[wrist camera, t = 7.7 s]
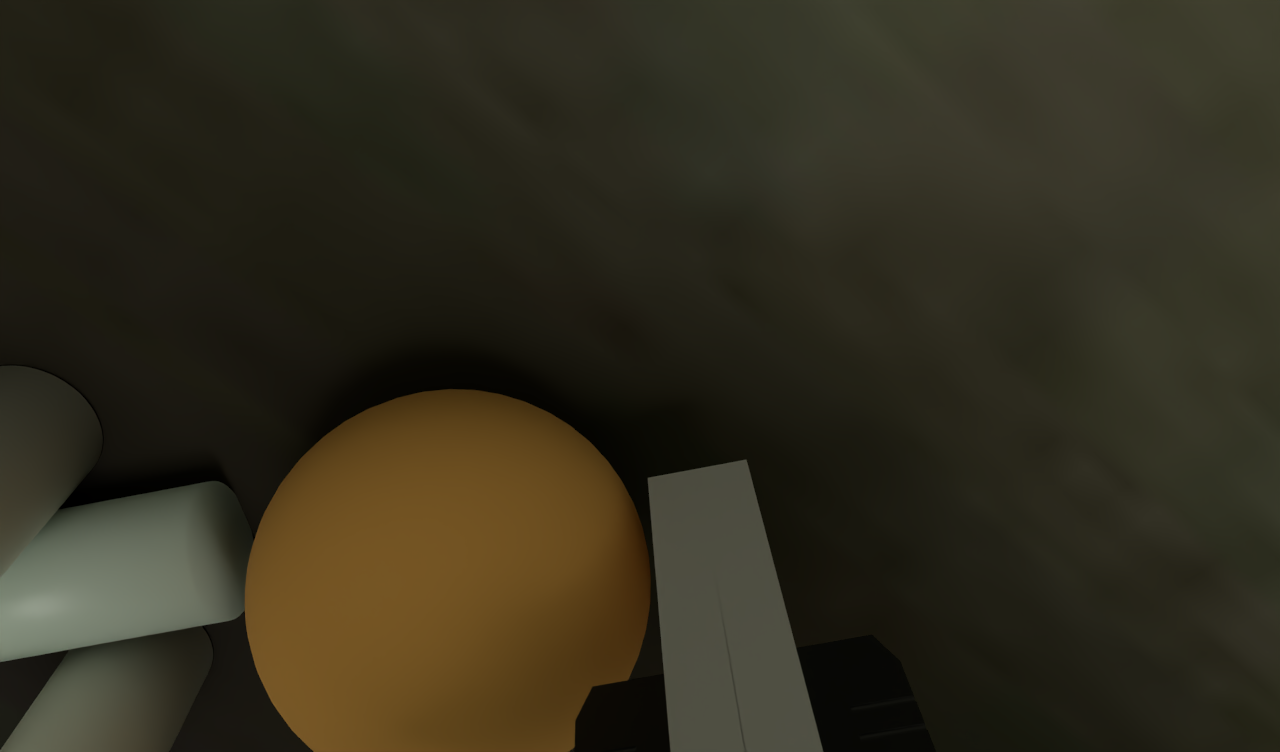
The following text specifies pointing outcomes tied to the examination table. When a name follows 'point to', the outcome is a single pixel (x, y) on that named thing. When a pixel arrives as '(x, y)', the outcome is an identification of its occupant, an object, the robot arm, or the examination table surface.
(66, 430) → the pin
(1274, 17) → the examination table surface
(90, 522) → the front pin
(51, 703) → the pin
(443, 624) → the ball
